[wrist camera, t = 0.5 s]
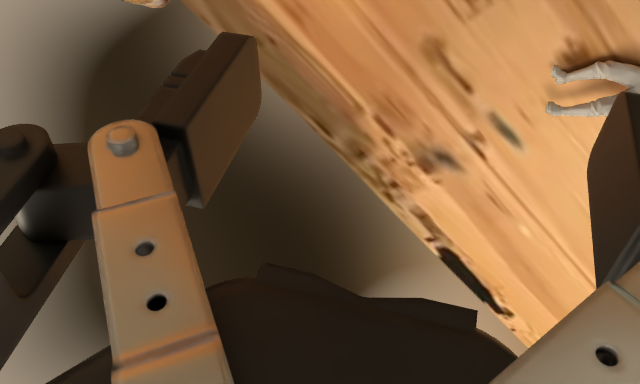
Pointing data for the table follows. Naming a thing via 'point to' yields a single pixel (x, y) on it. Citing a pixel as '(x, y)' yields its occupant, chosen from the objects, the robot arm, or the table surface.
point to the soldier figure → (613, 71)
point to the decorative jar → (150, 2)
